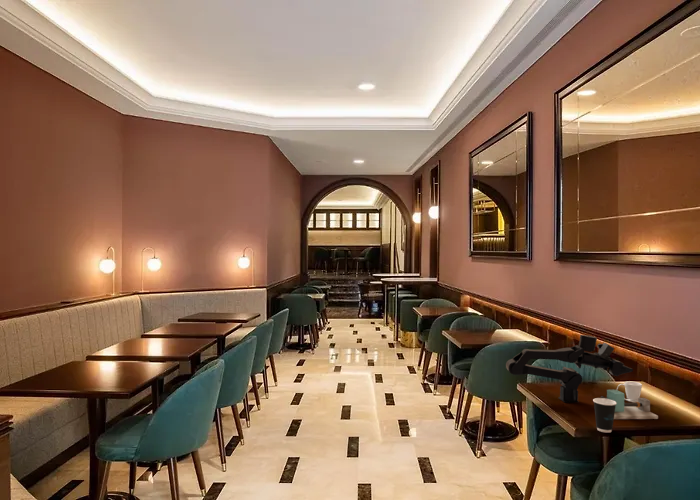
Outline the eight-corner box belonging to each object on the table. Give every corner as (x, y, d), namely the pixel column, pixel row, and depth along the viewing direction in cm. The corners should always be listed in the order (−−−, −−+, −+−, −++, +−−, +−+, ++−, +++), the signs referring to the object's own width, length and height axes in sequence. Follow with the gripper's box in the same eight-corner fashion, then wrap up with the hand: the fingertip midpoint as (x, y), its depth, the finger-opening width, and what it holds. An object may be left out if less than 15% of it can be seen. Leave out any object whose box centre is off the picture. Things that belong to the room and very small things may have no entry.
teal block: (614, 411, 205) (614, 393, 205) (606, 407, 211) (607, 389, 211) (624, 411, 206) (624, 393, 206) (616, 407, 211) (616, 389, 211)
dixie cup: (611, 435, 183) (611, 405, 183) (589, 429, 189) (589, 400, 189) (619, 430, 188) (620, 401, 188) (597, 424, 194) (598, 396, 194)
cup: (642, 404, 221) (642, 386, 221) (616, 400, 225) (616, 383, 225) (641, 400, 227) (641, 382, 227) (616, 396, 232) (616, 379, 232)
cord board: (614, 419, 201) (614, 404, 201) (595, 407, 215) (595, 393, 215) (657, 418, 202) (658, 403, 202) (636, 407, 216) (636, 393, 216)
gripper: (604, 347, 214) (642, 355, 212) (588, 337, 232) (623, 345, 231) (598, 372, 215) (636, 380, 213) (583, 361, 233) (617, 368, 231)
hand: (628, 367), depth 222 cm, fingers open, 9 cm apart
